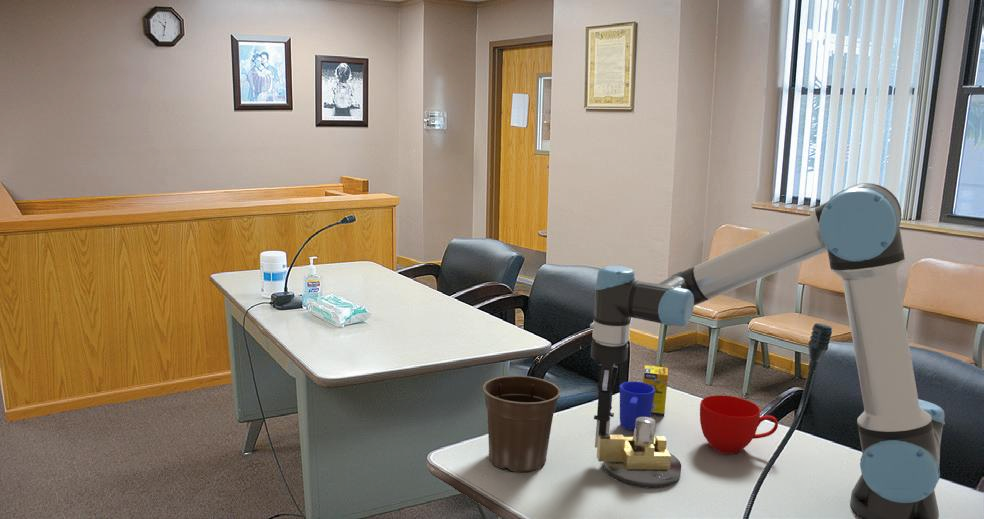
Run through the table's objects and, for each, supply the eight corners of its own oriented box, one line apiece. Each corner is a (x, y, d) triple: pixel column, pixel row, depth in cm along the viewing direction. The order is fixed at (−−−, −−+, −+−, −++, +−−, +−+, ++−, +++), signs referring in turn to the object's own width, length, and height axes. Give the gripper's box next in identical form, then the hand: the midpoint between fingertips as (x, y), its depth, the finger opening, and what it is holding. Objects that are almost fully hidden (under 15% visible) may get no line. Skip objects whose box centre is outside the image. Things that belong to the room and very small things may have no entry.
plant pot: (527, 437, 177) (531, 370, 174) (571, 466, 164) (576, 394, 161) (465, 452, 169) (468, 381, 165) (507, 484, 155) (511, 408, 152)
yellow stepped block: (657, 450, 168) (659, 426, 167) (669, 469, 159) (671, 445, 158) (593, 449, 167) (595, 426, 166) (602, 469, 158) (604, 444, 157)
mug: (611, 437, 179) (615, 396, 177) (619, 418, 191) (622, 379, 189) (648, 443, 177) (651, 401, 175) (653, 423, 188) (656, 384, 186)
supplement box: (664, 417, 192) (668, 375, 190) (640, 414, 194) (643, 372, 191) (664, 408, 198) (668, 367, 196) (640, 405, 199) (643, 364, 197)
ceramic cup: (776, 467, 168) (781, 423, 166) (695, 454, 172) (699, 412, 170) (772, 443, 180) (777, 402, 178) (697, 431, 184) (701, 391, 182)
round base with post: (693, 468, 165) (697, 420, 163) (659, 496, 153) (664, 444, 151) (626, 446, 175) (629, 399, 173) (589, 470, 163) (592, 421, 160)
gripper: (595, 330, 168) (587, 431, 173) (588, 348, 155) (580, 457, 160) (630, 333, 166) (621, 436, 171) (626, 352, 154) (617, 462, 159)
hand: (601, 446), depth 166 cm, fingers closed
